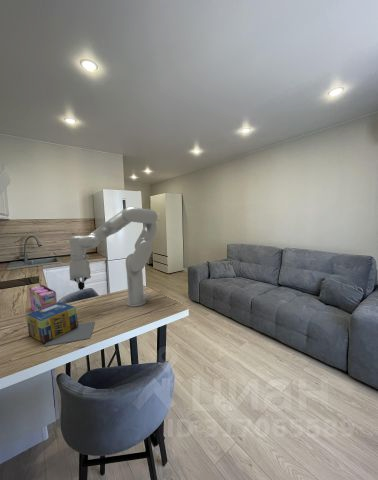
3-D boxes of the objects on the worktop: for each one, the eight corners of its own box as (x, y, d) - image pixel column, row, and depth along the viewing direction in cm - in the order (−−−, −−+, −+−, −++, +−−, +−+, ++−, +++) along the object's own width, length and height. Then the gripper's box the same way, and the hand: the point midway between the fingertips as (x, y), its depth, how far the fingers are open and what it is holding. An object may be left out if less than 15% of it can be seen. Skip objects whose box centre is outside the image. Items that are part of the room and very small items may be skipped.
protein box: (78, 326, 105) (44, 344, 92) (62, 320, 113) (28, 335, 100) (75, 306, 103) (40, 321, 90) (59, 301, 111) (24, 314, 98)
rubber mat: (95, 322, 110) (95, 321, 110) (90, 338, 95) (90, 337, 95) (56, 328, 105) (56, 327, 105) (44, 346, 90) (44, 345, 90)
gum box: (30, 308, 131) (27, 287, 129) (45, 304, 137) (42, 284, 135) (42, 319, 115) (39, 295, 114) (58, 314, 121) (56, 291, 120)
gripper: (94, 255, 124) (96, 285, 126) (65, 257, 120) (68, 289, 122) (92, 257, 117) (94, 289, 119) (61, 260, 113) (65, 293, 115)
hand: (81, 289), depth 120 cm, fingers closed
